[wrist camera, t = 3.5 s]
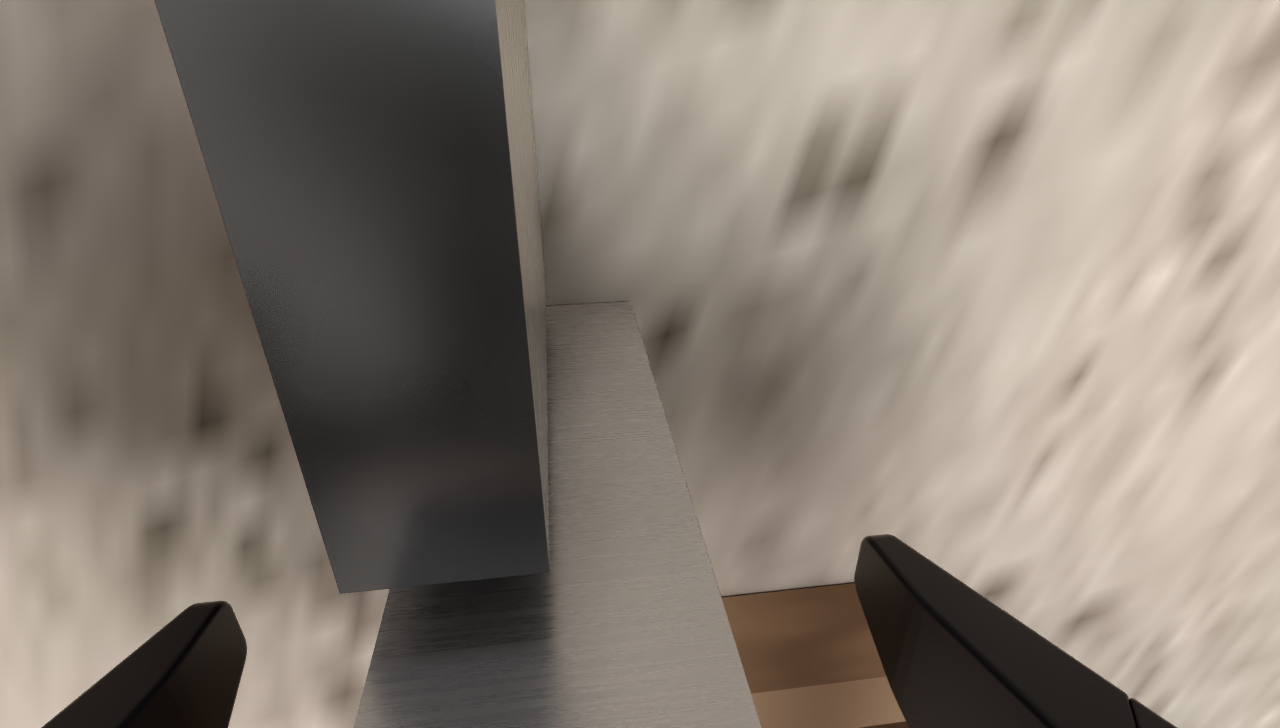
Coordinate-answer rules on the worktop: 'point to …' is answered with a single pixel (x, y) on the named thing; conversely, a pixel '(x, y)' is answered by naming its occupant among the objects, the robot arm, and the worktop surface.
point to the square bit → (578, 578)
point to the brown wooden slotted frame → (812, 659)
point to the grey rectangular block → (388, 265)
